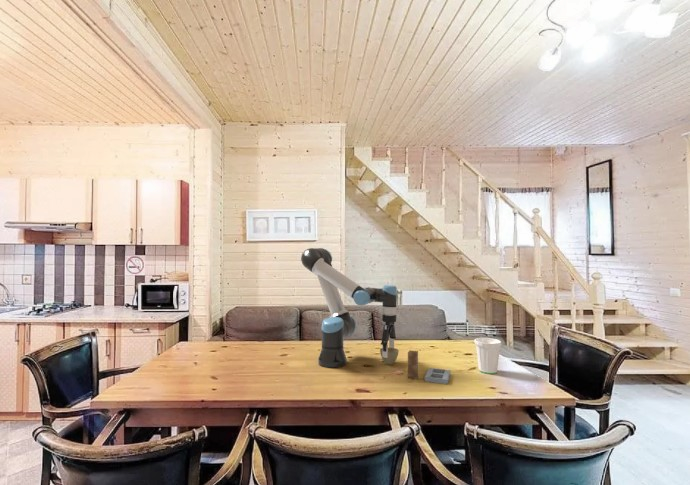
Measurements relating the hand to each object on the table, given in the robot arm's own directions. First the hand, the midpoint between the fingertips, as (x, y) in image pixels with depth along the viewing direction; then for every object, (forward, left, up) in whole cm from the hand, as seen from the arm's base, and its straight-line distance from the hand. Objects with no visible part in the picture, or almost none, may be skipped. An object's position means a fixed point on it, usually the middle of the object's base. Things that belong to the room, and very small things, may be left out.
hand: (388, 354), depth 192 cm
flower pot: (0, 0, -5) cm, 5 cm away
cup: (+50, +6, -5) cm, 50 cm away
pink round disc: (+9, -13, -5) cm, 16 cm away
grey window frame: (+28, -13, -5) cm, 31 cm away
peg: (+17, -17, -5) cm, 24 cm away
